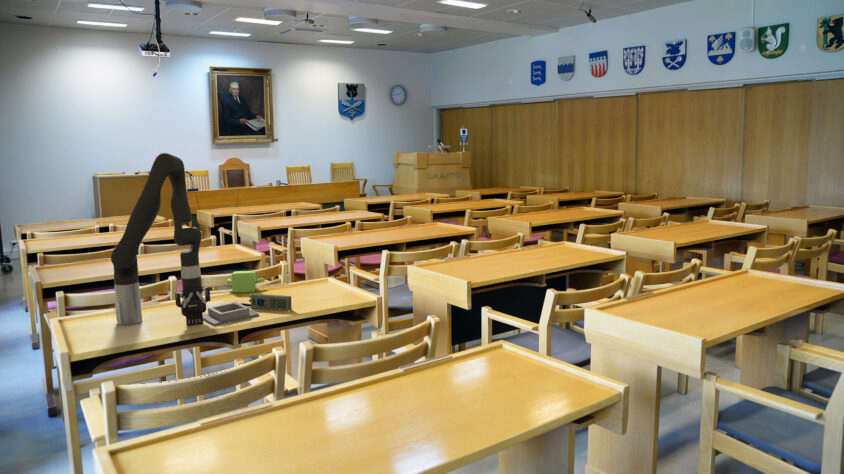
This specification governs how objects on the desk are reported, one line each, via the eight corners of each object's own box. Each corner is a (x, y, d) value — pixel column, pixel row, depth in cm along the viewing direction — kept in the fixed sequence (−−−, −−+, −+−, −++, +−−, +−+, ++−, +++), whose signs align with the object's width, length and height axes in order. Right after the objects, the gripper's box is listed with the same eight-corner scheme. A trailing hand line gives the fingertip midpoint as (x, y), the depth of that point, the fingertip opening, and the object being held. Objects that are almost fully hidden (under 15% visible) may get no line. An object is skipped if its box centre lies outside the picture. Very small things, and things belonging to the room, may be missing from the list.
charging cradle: (214, 326, 258) (213, 316, 258) (199, 317, 270) (198, 308, 269) (258, 315, 271) (258, 307, 271) (242, 308, 283) (241, 299, 282)
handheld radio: (289, 311, 278) (238, 308, 284) (292, 310, 281) (242, 306, 287) (288, 297, 277) (238, 293, 283) (292, 295, 280) (242, 292, 286)
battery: (185, 326, 258) (183, 299, 256) (186, 323, 262) (184, 297, 260) (203, 324, 260) (201, 298, 258) (203, 322, 264) (201, 295, 262)
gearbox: (265, 287, 321) (265, 269, 320) (263, 291, 311) (263, 273, 310) (229, 288, 318) (228, 270, 317) (226, 292, 309) (225, 274, 307)
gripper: (176, 280, 250) (180, 319, 253) (211, 274, 259) (214, 312, 262) (170, 277, 256) (173, 315, 258) (204, 271, 265) (207, 308, 268)
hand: (194, 313), depth 260 cm, fingers closed on battery, 7 cm apart
